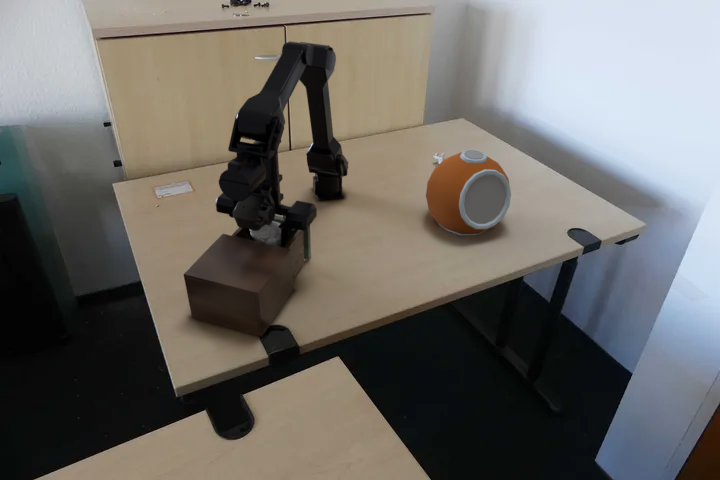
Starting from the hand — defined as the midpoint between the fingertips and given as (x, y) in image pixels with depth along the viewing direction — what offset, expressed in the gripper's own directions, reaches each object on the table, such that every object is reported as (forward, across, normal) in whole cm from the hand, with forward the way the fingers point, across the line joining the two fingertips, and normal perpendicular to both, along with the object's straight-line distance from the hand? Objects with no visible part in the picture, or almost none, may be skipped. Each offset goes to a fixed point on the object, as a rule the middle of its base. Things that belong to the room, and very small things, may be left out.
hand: (268, 244), depth 107 cm
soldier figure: (+7, +26, +56) cm, 62 cm away
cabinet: (+6, 0, -11) cm, 13 cm away
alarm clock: (+7, +34, +33) cm, 48 cm away
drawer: (+6, 0, +2) cm, 6 cm away
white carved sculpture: (+1, 0, 0) cm, 1 cm away
